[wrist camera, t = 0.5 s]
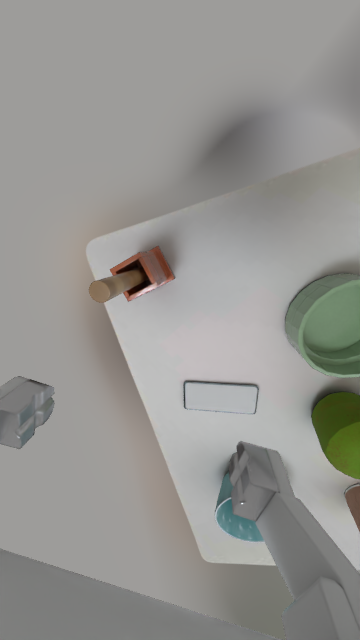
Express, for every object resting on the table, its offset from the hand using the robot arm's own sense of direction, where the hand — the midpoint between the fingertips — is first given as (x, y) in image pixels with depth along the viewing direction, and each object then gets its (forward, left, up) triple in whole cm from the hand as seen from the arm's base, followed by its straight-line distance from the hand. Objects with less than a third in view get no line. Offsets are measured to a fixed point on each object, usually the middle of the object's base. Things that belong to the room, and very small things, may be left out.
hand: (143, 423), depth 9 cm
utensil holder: (+5, -6, -29) cm, 30 cm away
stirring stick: (+5, -6, -28) cm, 29 cm away
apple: (-15, +34, -29) cm, 47 cm away
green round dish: (-19, +15, -29) cm, 38 cm away
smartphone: (+5, +23, -29) cm, 37 cm away
